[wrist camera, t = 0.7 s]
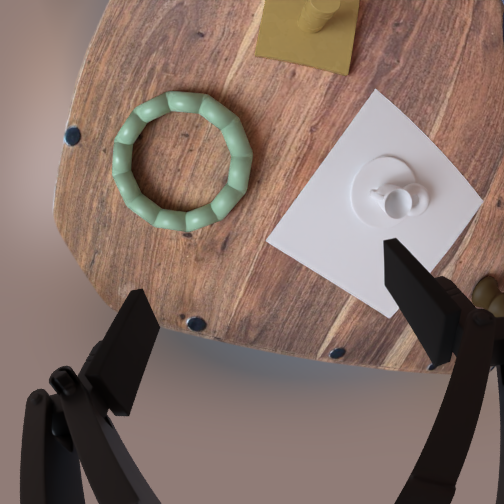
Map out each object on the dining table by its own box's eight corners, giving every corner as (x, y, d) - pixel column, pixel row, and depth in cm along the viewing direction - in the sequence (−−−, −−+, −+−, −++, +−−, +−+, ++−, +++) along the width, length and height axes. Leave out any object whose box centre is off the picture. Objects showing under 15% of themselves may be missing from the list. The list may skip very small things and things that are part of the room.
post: (269, -19, 22) (274, -55, 15) (357, 1, 23) (385, -25, 15) (254, 56, 26) (254, 37, 19) (345, 76, 26) (374, 66, 19)
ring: (124, 89, 27) (116, 88, 25) (262, 102, 28) (262, 101, 26) (115, 217, 33) (107, 223, 31) (239, 235, 34) (238, 243, 32)
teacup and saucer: (431, 190, 31) (450, 200, 27) (390, 243, 34) (405, 259, 30) (378, 140, 29) (394, 145, 25) (334, 200, 32) (344, 212, 28)
